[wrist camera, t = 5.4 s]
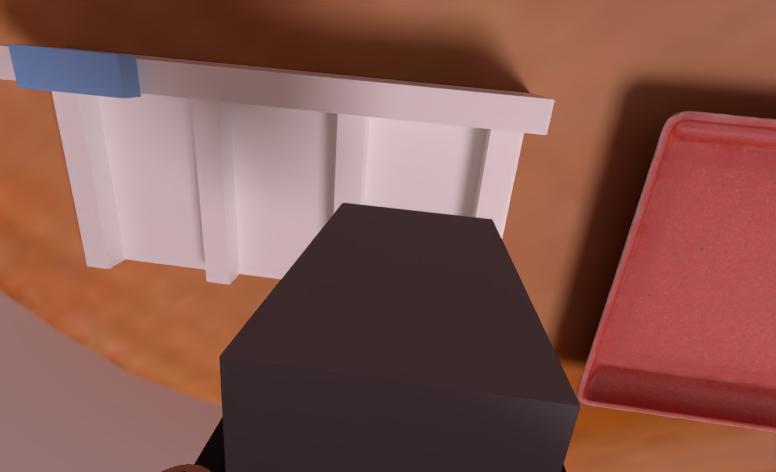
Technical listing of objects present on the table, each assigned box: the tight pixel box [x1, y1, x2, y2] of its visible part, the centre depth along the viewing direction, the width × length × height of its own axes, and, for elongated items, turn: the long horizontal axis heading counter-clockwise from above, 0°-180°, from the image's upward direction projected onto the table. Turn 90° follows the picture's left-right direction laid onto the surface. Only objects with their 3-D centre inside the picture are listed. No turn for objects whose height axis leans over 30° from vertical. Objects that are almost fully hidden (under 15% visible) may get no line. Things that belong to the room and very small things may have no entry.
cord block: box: [220, 203, 580, 472], centre depth 9 cm, size 9×4×7 cm, turn 175°
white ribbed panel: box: [0, 44, 555, 284], centre depth 23 cm, size 13×26×6 cm, turn 85°
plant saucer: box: [577, 111, 776, 432], centre depth 24 cm, size 18×18×3 cm
